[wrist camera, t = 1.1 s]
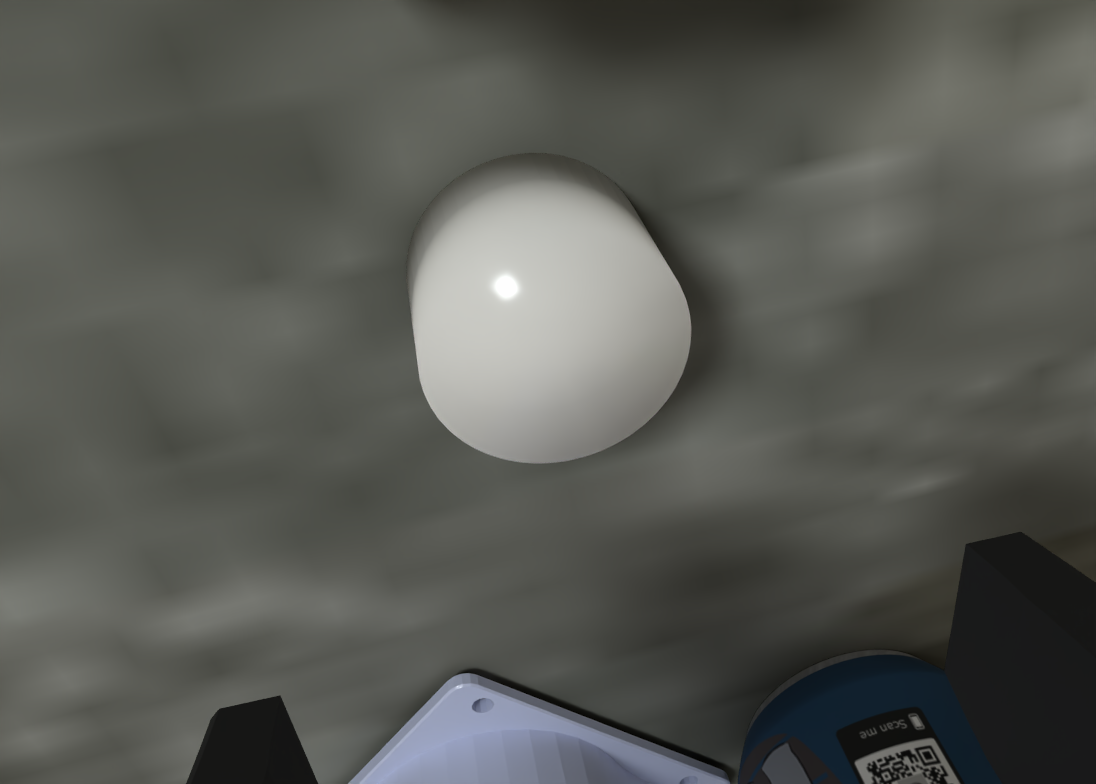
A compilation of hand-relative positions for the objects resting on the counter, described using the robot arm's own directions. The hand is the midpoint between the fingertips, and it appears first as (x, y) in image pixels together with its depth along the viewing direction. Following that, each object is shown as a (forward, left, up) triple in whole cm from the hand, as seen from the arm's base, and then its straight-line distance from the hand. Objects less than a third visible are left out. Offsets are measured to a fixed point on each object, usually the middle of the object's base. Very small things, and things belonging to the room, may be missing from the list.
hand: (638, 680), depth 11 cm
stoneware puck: (0, 0, -10) cm, 10 cm away
